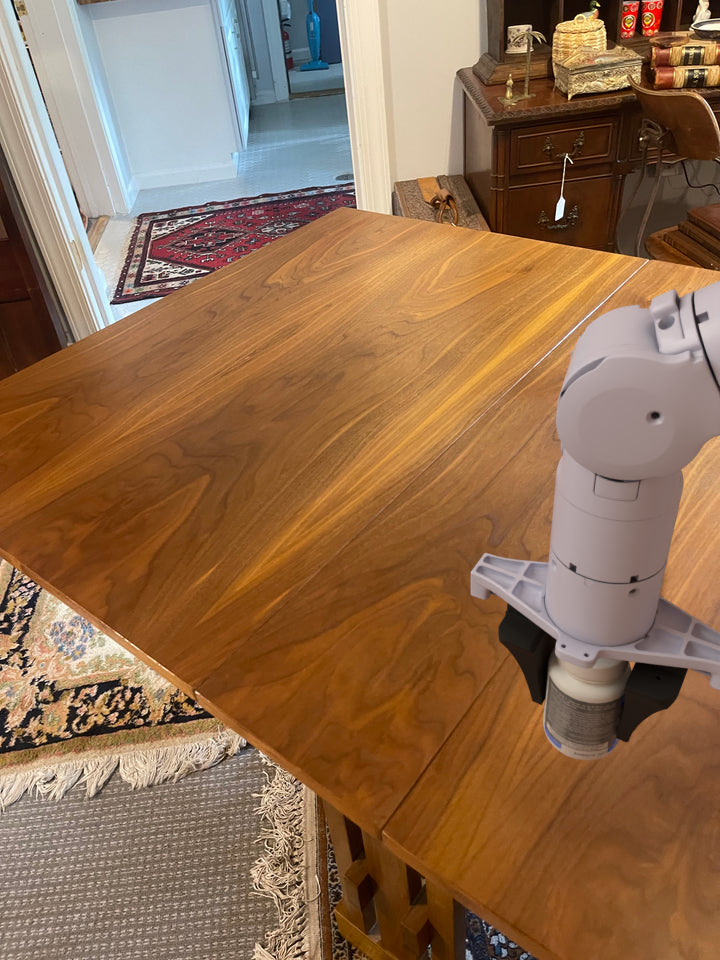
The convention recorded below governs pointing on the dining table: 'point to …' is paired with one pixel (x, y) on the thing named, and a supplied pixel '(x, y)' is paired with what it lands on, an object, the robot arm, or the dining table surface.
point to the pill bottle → (584, 706)
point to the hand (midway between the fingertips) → (583, 709)
